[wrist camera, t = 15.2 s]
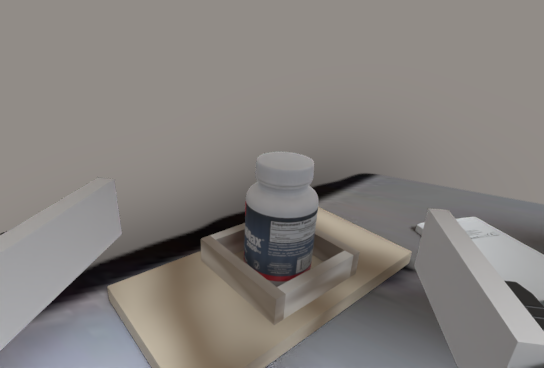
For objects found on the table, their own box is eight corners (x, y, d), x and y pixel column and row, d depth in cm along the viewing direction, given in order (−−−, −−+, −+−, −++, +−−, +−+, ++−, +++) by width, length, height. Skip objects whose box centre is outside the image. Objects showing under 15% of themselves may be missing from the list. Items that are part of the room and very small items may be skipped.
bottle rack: (316, 216, 38) (319, 189, 37) (409, 263, 31) (416, 231, 29) (109, 300, 24) (103, 262, 23) (187, 423, 17) (184, 376, 15)
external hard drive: (522, 320, 26) (413, 235, 37) (596, 302, 28) (473, 227, 39) (530, 303, 25) (416, 222, 36) (604, 286, 27) (477, 214, 38)
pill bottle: (239, 250, 29) (241, 148, 25) (298, 246, 30) (308, 148, 27) (249, 292, 24) (254, 173, 21) (319, 285, 25) (335, 171, 22)
